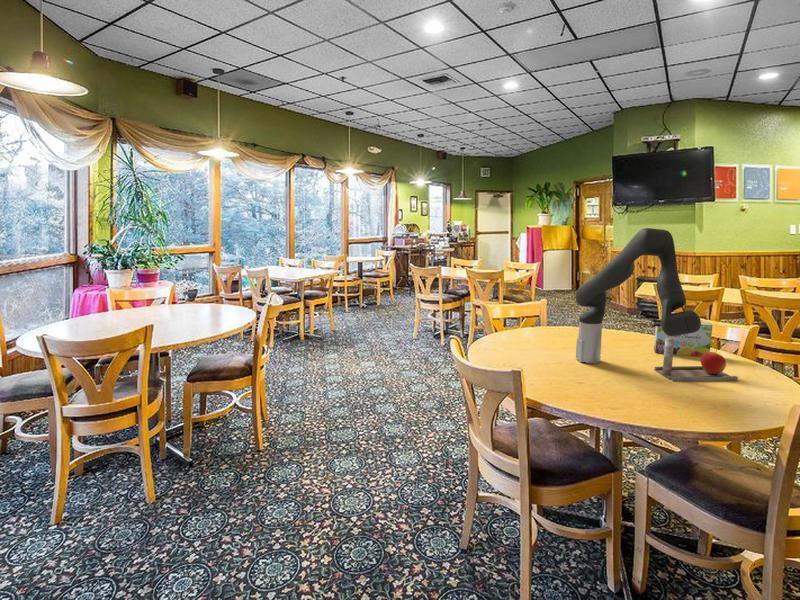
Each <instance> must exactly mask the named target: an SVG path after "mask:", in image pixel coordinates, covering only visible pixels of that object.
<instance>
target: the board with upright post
mask: <svg viewBox="0 0 800 600" xmlns="http://www.w3.org/2000/svg"><path fill="white" fill-rule="evenodd" d="M673 348H674V339H671V338H666V339H665V349H664V353H663V363H662V367H663V370H656V371H655V372H656V373H658V374H660V375H662V376H663V377H665V378H666V379H668V380H670V381H672V377H686V376H731V375H730V374H727V373H725V372H723V371H722V372H721V373H718V374H709V373H707V372H705V371H704V370H672V367H673V359H674V354H673Z"/></svg>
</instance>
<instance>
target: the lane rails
mask: <svg viewBox="0 0 800 600" xmlns="http://www.w3.org/2000/svg"><path fill="white" fill-rule="evenodd" d="M656 370H663V366H654V371H655V372H656ZM672 370H704V369H703V367H702V365H701V366H700V365H697V366H696V365H694V366H693V365H691V366H689V365H688V366H687V365H686V366H685V365H684V366H683V365H682V366H672ZM734 380H738V381H739V376H737V375H730V376H686V377H672V380H671V382H735V381H734Z"/></svg>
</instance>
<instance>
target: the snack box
mask: <svg viewBox="0 0 800 600" xmlns="http://www.w3.org/2000/svg"><path fill="white" fill-rule="evenodd" d="M660 319H661V318H659V319H658V318H657V319H656V320H660ZM712 335H713V324H712V323H710V322H709V321H708V322H705V321H701V327H700V329H699V330H698V331H697V332H694V333H688V334H683V335H678V336H668V335H666V334H665V333H664V332H663V330H662V328H660V326H659V327H657V326H656V327H655V332H654V342H653V345H654V346H653V350H654V353H656V354H664V349H665V339H666V338H671V339H674V348H673V355H674V356H675V355H677V356H687V357H698V356H699V357H700V358H701V357H702V355H703V354H704V353H707V352H711V345H712V337H713V336H712ZM699 357H698V358H699Z"/></svg>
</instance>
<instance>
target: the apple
mask: <svg viewBox="0 0 800 600" xmlns="http://www.w3.org/2000/svg"><path fill="white" fill-rule="evenodd" d="M717 350H718V348H716V349H715V352H714V351H710V352H707V353H704V354H703V355H702V357H700V364H701V366H702V367H703V369H704V371H705V372H707V373H709V374H718V373H721V372H723V371H724V370H725V368H726V366H727V362H726V358H725V357H724V356H723V355H721V354H719V353H717Z"/></svg>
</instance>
